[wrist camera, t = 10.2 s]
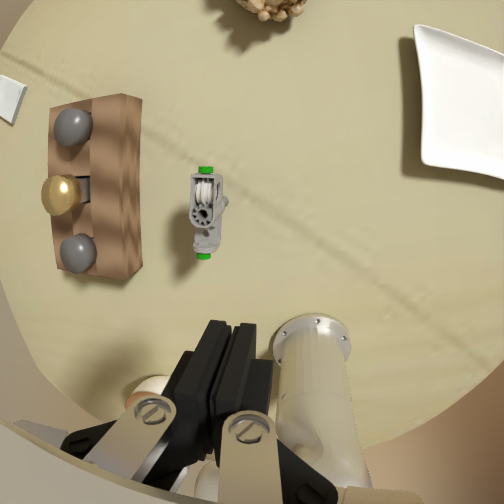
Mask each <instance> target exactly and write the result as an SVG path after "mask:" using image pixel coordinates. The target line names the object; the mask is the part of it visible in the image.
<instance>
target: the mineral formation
mask: <svg viewBox="0 0 504 504" xmlns="http://www.w3.org/2000/svg"><path fill="white" fill-rule="evenodd" d="M235 1H236V2H237V3H238V4H240V5H242V6H243V8H245V9H247V10H248V11H251V12H252V13H257V14H258V18H259V20H260V21H266V20H268V19H271V20H272V19H274V20H275V21H279V22H282V21H283V20H285V19H286V18H287V14H286V12H285V11H284V10H282V8H285V9H287V11H288V14H289V15H291V16H294V17H297V16H299V15H300V14H302V13H303V11H304V7H303V4H305V3H306V1H307V0H235Z"/></svg>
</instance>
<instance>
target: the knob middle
mask: <svg viewBox="0 0 504 504" xmlns="http://www.w3.org/2000/svg"><path fill="white" fill-rule="evenodd" d="M41 197H42V203H43V205H44V208H45V209H46V211H47V212H48V213H49V214H51V215H53V216H58V215H61V214H64V213H67V212H70V211H73V210H75V209H76V208H77V207H78V205H79V203H82V202H86V201H89V200H91V196H90V177H79V178H76V177H75V176H74V175H72V174H62V175H56V176H51V177H49V178H48V179H46V181H45V182H44V184H43V187H42V192H41Z"/></svg>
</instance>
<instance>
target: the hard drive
mask: <svg viewBox="0 0 504 504" xmlns="http://www.w3.org/2000/svg"><path fill="white" fill-rule="evenodd" d="M27 87H28V86H26V85H24V84H22V83H19V82H17V81H15V80H13V79H11V78H8V77H6V76H4V75H0V117H2V118H4V119H5V120H7V121H8V122H10V123H11V124H15V121H16V118H17V115H18V112H19V109H20V106H21V103H22V100H23V97H24V95H25V92H26V90H27Z"/></svg>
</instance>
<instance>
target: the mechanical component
mask: <svg viewBox="0 0 504 504" xmlns="http://www.w3.org/2000/svg"><path fill="white" fill-rule="evenodd" d="M199 173H202V174H199ZM210 173H213V167H204V166H203V167H199V172H198V173H195V174H191V192H190V210H189V219H190V221H191V223H192V224H193V225H194V226H195V243H194V244H193V251H194V252H197V258H198V259H202V260H205V259H210V257H211V253H213V252H215V251H216V250H217V249H218V247H219V245H220V240H221V220H222V213H223V212H224V208H225V206H227V204H228V198H227V197H225V196H223V198H222V195H223V177H222V175H219V174H210ZM195 199H196V200H195Z"/></svg>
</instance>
